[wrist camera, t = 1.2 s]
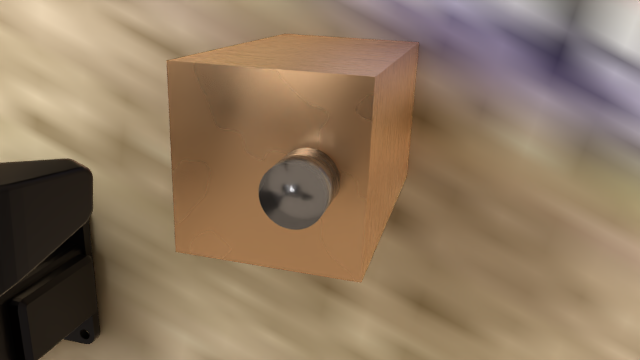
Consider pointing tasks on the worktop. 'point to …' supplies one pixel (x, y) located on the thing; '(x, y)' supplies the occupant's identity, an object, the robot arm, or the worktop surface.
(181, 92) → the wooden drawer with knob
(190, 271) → the worktop surface
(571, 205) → the worktop surface
